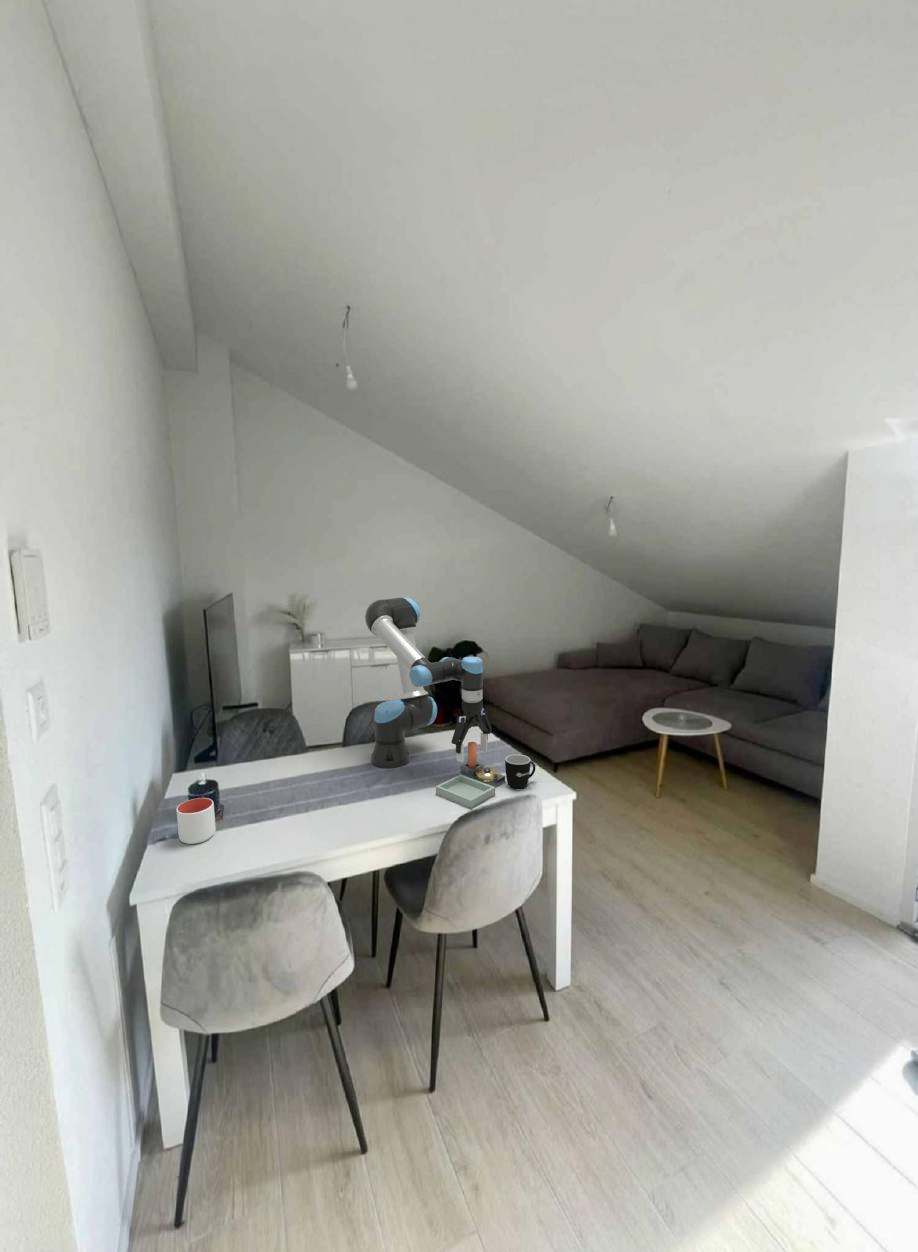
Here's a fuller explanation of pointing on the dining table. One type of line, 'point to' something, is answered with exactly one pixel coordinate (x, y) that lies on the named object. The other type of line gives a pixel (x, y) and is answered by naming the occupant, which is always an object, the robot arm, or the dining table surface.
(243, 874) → the dining table surface
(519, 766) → the mug
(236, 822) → the dining table surface
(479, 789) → the tray
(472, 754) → the pin
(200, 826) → the cup
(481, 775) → the pulley block
